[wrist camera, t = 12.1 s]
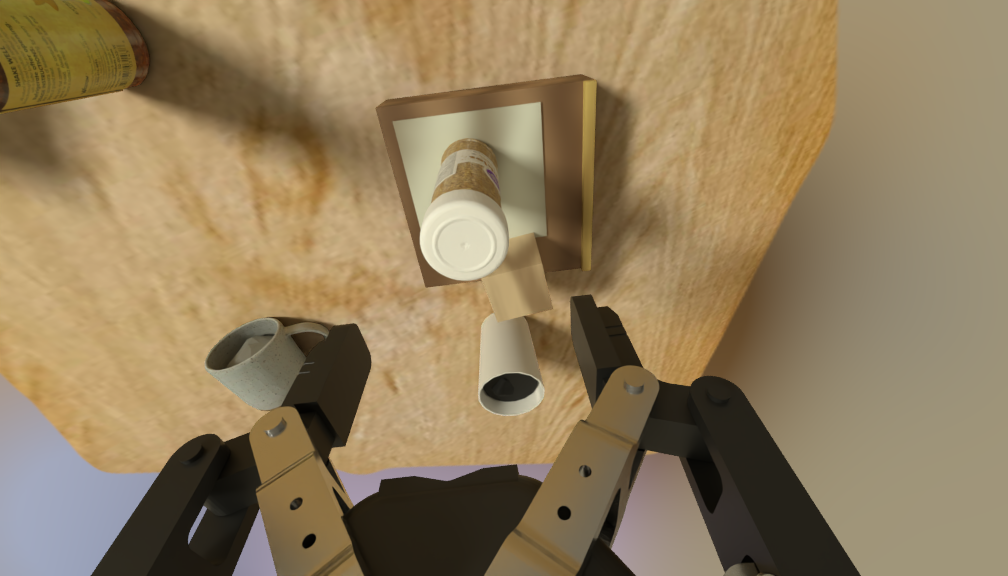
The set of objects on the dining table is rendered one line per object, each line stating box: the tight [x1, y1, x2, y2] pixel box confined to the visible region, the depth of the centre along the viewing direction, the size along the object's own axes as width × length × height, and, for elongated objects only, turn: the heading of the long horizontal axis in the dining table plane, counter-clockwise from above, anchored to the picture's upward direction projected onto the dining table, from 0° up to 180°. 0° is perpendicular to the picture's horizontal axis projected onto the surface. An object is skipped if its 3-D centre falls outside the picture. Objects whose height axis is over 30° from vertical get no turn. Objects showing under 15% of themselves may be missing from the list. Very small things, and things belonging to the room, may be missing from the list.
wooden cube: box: [481, 232, 553, 322], centre depth 33 cm, size 5×5×5 cm
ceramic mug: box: [205, 318, 329, 411], centre depth 41 cm, size 11×8×8 cm
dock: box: [376, 74, 597, 287], centre depth 33 cm, size 16×16×5 cm
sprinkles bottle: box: [420, 138, 509, 281], centre depth 24 cm, size 5×5×14 cm
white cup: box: [478, 313, 545, 416], centre depth 41 cm, size 7×7×10 cm
